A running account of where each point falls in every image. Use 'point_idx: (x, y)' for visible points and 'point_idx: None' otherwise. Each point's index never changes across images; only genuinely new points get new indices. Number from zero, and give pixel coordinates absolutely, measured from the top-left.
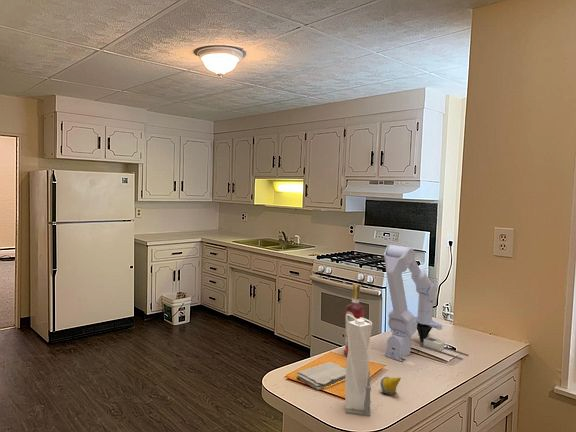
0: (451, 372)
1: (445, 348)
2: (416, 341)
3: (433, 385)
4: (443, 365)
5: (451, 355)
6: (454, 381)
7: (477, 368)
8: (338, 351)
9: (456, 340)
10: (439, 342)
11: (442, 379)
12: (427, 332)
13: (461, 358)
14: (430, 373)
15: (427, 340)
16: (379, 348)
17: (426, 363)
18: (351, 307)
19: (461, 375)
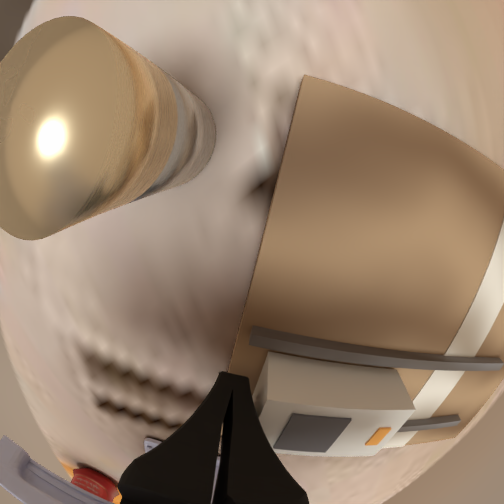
0: (392, 473)
1: (407, 364)
2: (146, 258)
3: None
4: (372, 460)
5: (421, 428)
6: (390, 492)
7: (488, 400)
8: (65, 461)
9: (427, 19)
10: (374, 444)
11: (360, 500)
12: (254, 451)
13: (456, 424)
14: (327, 500)
15: (279, 451)
16: (95, 434)
17: (306, 477)
18: None
19: (418, 467)
